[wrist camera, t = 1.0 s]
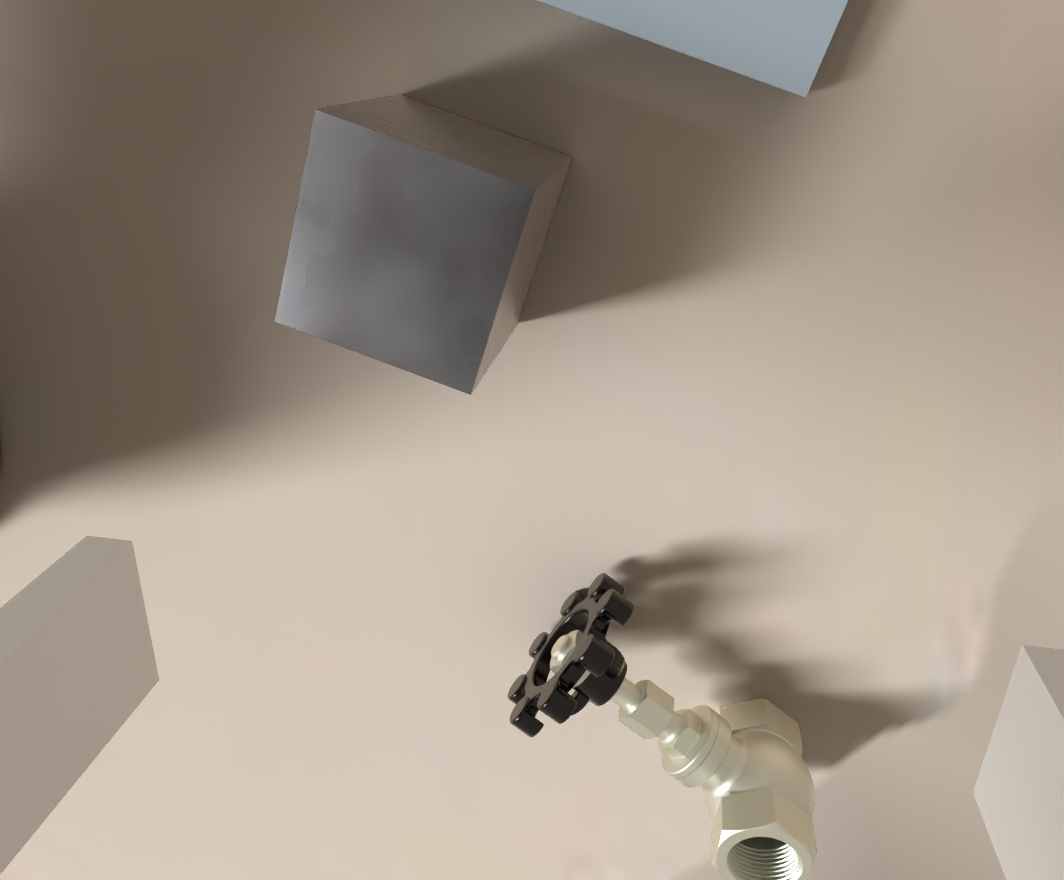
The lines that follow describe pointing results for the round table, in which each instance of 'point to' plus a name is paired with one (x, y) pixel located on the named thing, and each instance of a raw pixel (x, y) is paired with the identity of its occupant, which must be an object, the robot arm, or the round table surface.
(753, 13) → the board
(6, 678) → the robot arm
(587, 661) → the valve
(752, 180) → the round table surface
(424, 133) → the brushed metal cube
